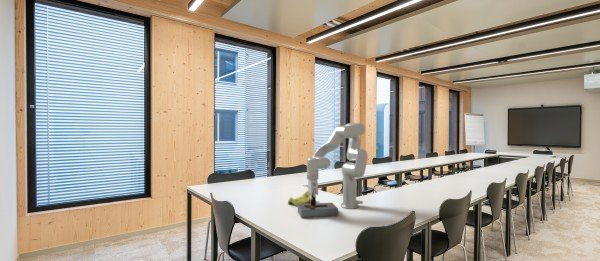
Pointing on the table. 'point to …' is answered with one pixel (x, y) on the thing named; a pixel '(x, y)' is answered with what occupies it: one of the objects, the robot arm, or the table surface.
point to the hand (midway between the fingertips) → (312, 204)
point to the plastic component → (300, 199)
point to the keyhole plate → (317, 210)
